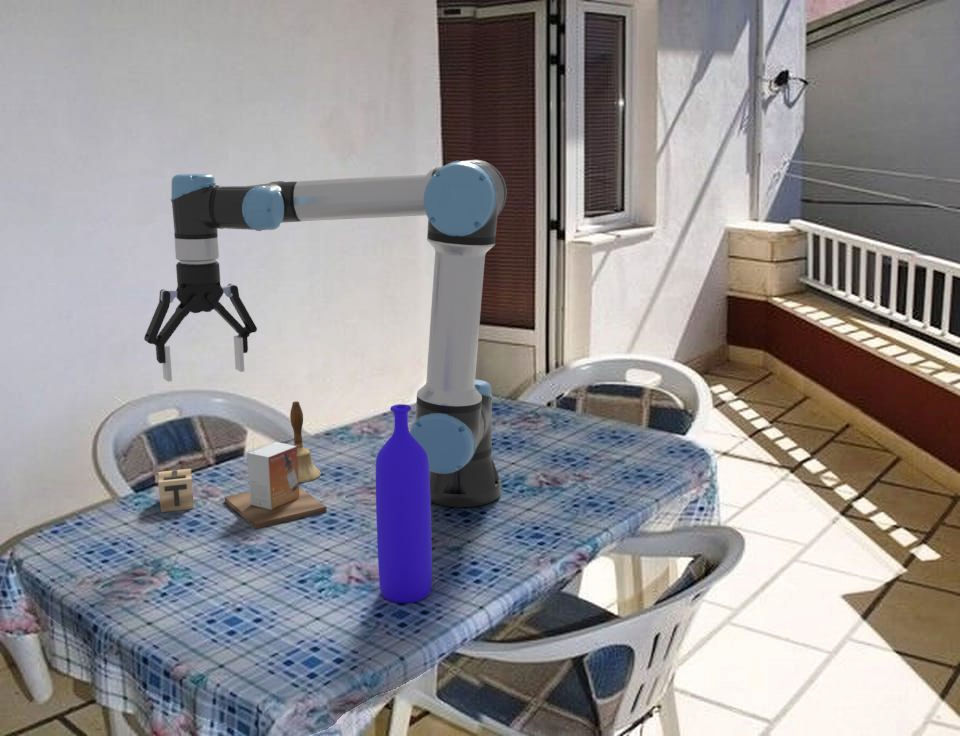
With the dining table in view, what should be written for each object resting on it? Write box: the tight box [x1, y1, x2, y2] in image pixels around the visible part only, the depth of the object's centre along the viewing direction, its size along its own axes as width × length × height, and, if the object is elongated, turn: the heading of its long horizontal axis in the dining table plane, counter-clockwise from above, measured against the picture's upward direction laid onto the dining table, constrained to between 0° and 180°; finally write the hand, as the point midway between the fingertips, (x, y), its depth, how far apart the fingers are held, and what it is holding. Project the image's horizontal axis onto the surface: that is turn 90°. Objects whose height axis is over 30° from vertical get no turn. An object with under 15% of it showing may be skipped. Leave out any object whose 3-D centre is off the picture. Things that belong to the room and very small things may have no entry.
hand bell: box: [289, 400, 322, 484], centre depth 199 cm, size 8×8×16 cm
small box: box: [246, 441, 300, 510], centre depth 183 cm, size 8×6×10 cm
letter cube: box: [157, 468, 195, 513], centre depth 185 cm, size 6×6×6 cm
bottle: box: [375, 403, 433, 604], centre depth 146 cm, size 8×8×30 cm
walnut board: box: [224, 486, 328, 529], centre depth 185 cm, size 16×14×1 cm
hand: (204, 375), depth 180 cm, fingers open, 13 cm apart
